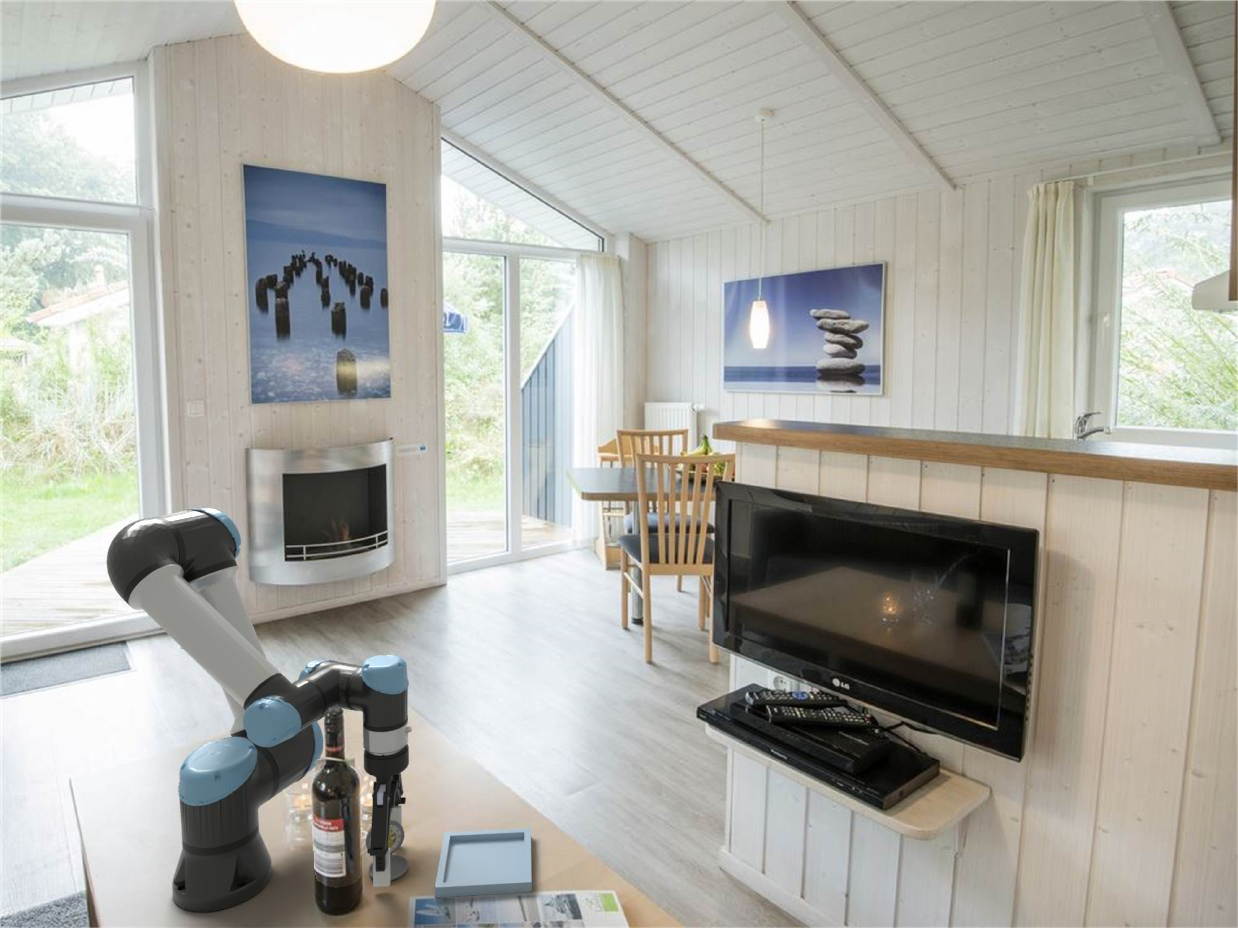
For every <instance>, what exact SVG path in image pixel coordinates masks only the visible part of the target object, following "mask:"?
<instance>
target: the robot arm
mask: <svg viewBox="0 0 1238 928" xmlns="http://www.w3.org/2000/svg"><path fill="white" fill-rule="evenodd" d="M241 545H242V539H241V533H240V532H239V529H238V527H237V525H236V524H235V522H234V521H233V520H232V518H230V516H228V515H227V514H225V512H222V511H219V510H217V509H215V508H211V507H202V508H188V509H186V510H181V511H177V512H173V513H172V512H171V513H168V514H164V515H159V516H154V517H147V518H146V517H145V518H142V519H138V520H134V521H133V522H131V523H129V524H128V525H125V526H124V527H123V528H121V529H120V530H119V531H118V532H117V533H116V535H115V536H114V537H113V539H112V540H111V542H110V544H109V547H108V550H107V555H106V569H107V575H108V577H109V580H110V583H111V584H112V586H113V588H114V589H115V591H116V593H117V594H118V596H120V598H121V599H122V600H123V601H124V602H125V603H126V604H127V605H128V606H129V607H130V608H131V609H133V610H137V611H138V610H139V611H140V610H143V611H144V612H145V613H146V614H147V615H148V616H149V617H150V618H151V619H153V621H154V622H155V623H157V625H158V626H160V628H162V629H163V630H164V632H165V633H167V635H169V637H170V638H171V639H173V640H174V641H175V642H176V644H178V645H179V646H180V647H181V649H182V650H184V651H185V652H186V653H187V654H188V655H189V656H190V657H191V658H192V659H193V660H194V661H195V662H196V663H197V664H198V665H199V666H200V667H201V668H202V669H203V670H204V671H205V672H206V673H207V674H208V675H210V677H211V678H213V680H214V681H215V682H217V684H218V685H219V686H220V687H221V690H222V691H223V694H224V696H225V699H226V701H227V704H228V706H229V709H230V711H231V714H232V716H233V718H234V722H233V723H232V726H231V729H230V730H229V733H230V737H222V738H220V740H219V739H218V741H216V740H212V741H210V742H207V743H205V744H203V745H201V746H199V747H197V748H196V749H195V750H193V751H192V752H191V753H189V755H188V756H187V757H186V758H185V759H184V760H183V762H182V764H181V766H180V769H179V781H178V786H177V792H178V796H179V808H180V809H179V810H180V824H181V840H182V841H181V844H182V845H181V847H182V849H181V853H180V856H179V859H178V863H177V866H176V869H175V872H174V874H173V878H172V883H171V886H172V887H171V888H172V899H173V901H174V903H175V905H177V907H179V908H181V909H183V910H186V911H189V912H196V913H209V912H216V911H217V912H218V911H220V910H225V909H228V908H229V909H230V908H232V907H234V906H236V905H239V904H242V903H244V902H246V901H248V900H249V899H252V898H253V897H254V896H255V895H257V894H259V893H260V892H261V891H262V890H263V889H264V888H265V887H266V886H267V885H268V884H269V881H270V880H271V878H272V873H273V872H272V871H273V870H272V867H273V866H272V857H271V855H270V853H269V852H270V851H269V850H268V848H267V846H266V843H265V841H264V839H263V837H262V835H261V833H260V823H259V822H260V819H259V809H260V807H261V806H263V805H264V804H266V803H267V802H268V801H270V800H271V799H273V798H274V797H276V796H277V795H278V794H280V793H282V792H283V791H284V790H285V789H287V788H289V787H291V785H293V784H294V783H297V782H300V781H301V780H302V779H304V777H306V775H307V774H309V773H310V772H311V771H312V770H313V769H314V768H315V767H316V766H317V765H316V764H315V761H316V760H317V759H320V760H321V757H322V754H323V751H324V736H323V731H322V728H321V726H320V723H319V720H322V719H323V718H325V717H326V716H325V714H326V711H327V709H328V708H329V707H333V706H335V707H337V708H339V709H341V710H342V709H343V710H349V711H356V712H362V746H363V769H364V771H365V773H367V774H368V775H369V776H372V777H374V778H375V781H373V785H372V790H373V791H372V794H371V797H372V808H371V810H372V811H371V827H370V828H371V845H370V849H366V850H367V851H366V852H367V854H369V856H370V857H372V862H373V878H372V884H373V888H382V887H390V886H391V884H392V883H391V880H390V848H389V847H388V844H389V832H390V820H391V819H392V820H395V821H397V822H398V823H400V824H401V826H402V827H403V821H402V818H403V816H402V813H403V811H402V805H406V800H407V798H406V797H405V796H404V797H402V796H403V794H404V788H403V780H402V778H403V777H402V773H403V772H404V771H406V769H407V768H408V766H409V765H410V764H409V763H410V755H409V754H410V750H409V749H410V748H409V744H408V743H409V733H411V732H412V730H413V729H412V726H408V724H409V714H408V708H409V705H408V704H409V703H408V702H409V701H408V698H409V697H408V696H409V686H410V683H409V681H410V680H409V679H408V667H407V662H406V660H405V659H404V658H403V657H401V656H398V655H395V654H387V655H384V654H379V655H375V656H371V657H369V658H367V659H365V660H364V661H363V663H362V665H357V664H352V663H346V662H342V661H337V660H331V659H314V660H312V661H310V662H308V663H307V664H306V665H305V668H304V669H302V670H301V672H300V673H299V676H298V679H297V680H295V681H294V682H291V681H290V680H289V679H288V677H286V676H285V675H283V674H282V672H280V671H279V670H278V669H277V668H276V667H275V666H274V665H273V664H272V663H271V662H270V661H269V660H268V659H267V657H266V654H265V652H264V649H263V647H262V644H261V642H260V640H259V637H258V635H257V633H256V630H255V628H254V625H253V623H252V620H251V618H250V616H249V613H248V611H247V609H246V605H245V603H244V601H243V599H242V596H241V594H240V591H239V589H238V587H237V585H236V582H235V576H236V574H237V572H238V569H239V566H238V564H237V560H236V558H238V557H239V555H240V552H241V547H240V546H241ZM391 809H392V812H391ZM391 832H392V831H391ZM393 832H394V831H393ZM393 832H392V834H393ZM391 838H392V837H391ZM394 838H395V836H393V838H392V839H394Z"/></svg>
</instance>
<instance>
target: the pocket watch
mask: <svg viewBox="0 0 1238 928" xmlns="http://www.w3.org/2000/svg"><path fill="white" fill-rule="evenodd" d="M391 812H392V809H391ZM391 831H392V832H393V831H394V832H393V834H392V832H391ZM393 836H395V838H394V839H392V838H393ZM391 837H392V838H391ZM404 840H405V830H404V827H403V825H402V826H401V824H400V823H398V822H397V821H395V820H392V819H391V820H390V832H389V844H388V847H389V848H390V881H394V880H396V879H399V878H401V877H402V876H403V875H404V874H405V873H406V872H407V870H408V868H409V861H408V860H407V858H405V857H404V856H401V855H398V854H394V853H396V852H397V851H398V850H399V849H400V848H401V846H402V845H403V843H404ZM370 845H371V827H370V828H369V830H368V831H367V834H366V838H365V846H366V850H368V849H370ZM368 874H369V876H370V878H372V879H373V861H372V862H371V863H370V865H369V867H368Z"/></svg>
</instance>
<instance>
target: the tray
mask: <svg viewBox="0 0 1238 928" xmlns="http://www.w3.org/2000/svg"><path fill="white" fill-rule="evenodd" d="M531 828H532V827H527V828H526V827H525V828H508V829H507V828H505V829H486V830H485V829H484V830H466V831H465V830H464V831H463V830H462V831H444V832H443V836H442V843H441V848H440V855H439V861H438V866H437V874H436V878H435V885H434V898H450V897H452V898H453V897H467V896H468V897H469V896H483V895H484V896H485V895H486V896H487V895H502V894H517V893H518V894H520V893H531V892H532V830H531Z"/></svg>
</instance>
